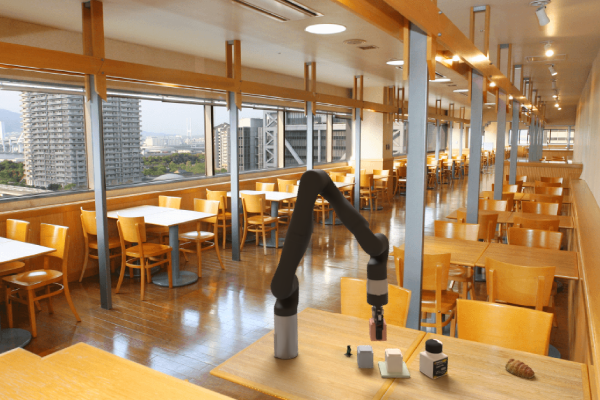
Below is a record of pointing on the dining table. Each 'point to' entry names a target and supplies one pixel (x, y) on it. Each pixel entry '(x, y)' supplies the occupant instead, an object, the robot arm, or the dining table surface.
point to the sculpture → (348, 351)
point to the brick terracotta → (373, 331)
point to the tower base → (393, 374)
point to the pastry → (519, 368)
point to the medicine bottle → (433, 359)
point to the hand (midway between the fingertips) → (378, 335)
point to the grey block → (365, 356)
